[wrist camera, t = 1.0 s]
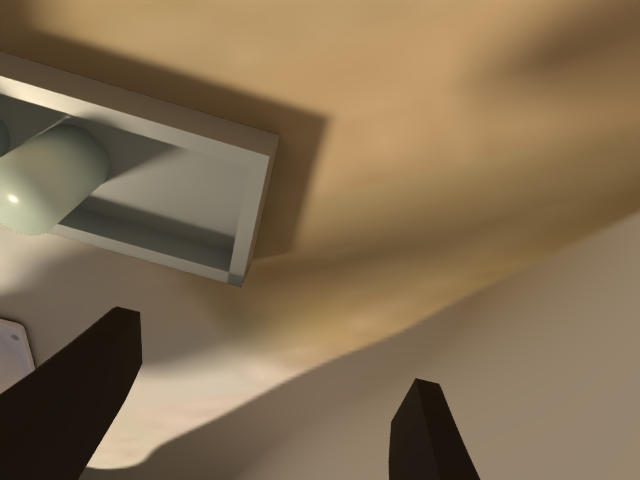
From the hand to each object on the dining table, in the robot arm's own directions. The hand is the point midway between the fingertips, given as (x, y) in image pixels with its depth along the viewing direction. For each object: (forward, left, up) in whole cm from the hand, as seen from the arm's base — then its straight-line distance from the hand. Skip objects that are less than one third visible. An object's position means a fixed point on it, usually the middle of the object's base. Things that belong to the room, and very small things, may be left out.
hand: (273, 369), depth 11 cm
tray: (-1, +10, -10) cm, 15 cm away
